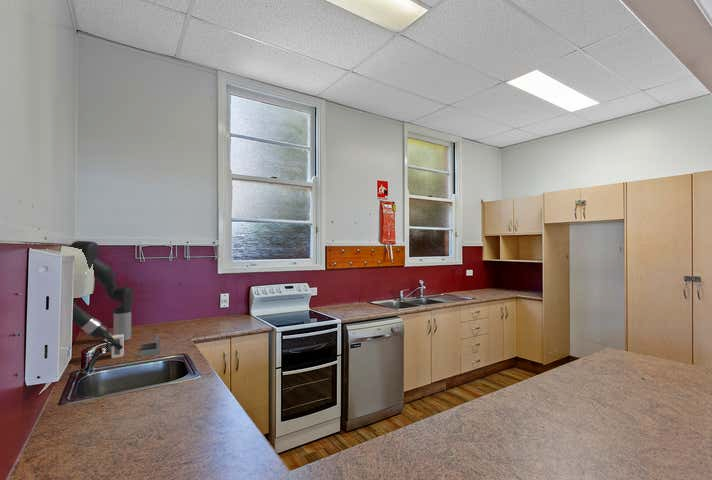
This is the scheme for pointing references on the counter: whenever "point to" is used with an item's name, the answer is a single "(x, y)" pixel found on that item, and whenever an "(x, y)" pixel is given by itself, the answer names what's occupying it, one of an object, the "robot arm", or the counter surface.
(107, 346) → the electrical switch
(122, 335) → the beige grey rectangular block
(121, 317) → the robot arm
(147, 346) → the bracket
